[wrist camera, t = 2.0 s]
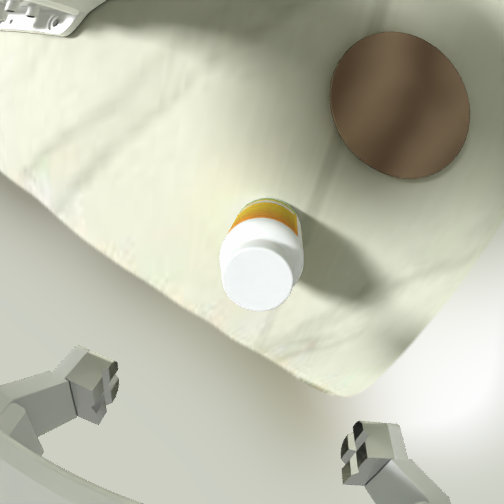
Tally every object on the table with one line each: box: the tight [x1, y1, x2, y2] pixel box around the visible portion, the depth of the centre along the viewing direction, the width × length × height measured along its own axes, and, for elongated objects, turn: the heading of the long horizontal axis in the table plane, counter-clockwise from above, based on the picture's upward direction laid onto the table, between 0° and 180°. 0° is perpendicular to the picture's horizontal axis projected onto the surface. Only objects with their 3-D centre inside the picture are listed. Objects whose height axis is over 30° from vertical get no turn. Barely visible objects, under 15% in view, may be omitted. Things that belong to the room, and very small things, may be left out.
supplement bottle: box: [220, 198, 304, 311], centre depth 22 cm, size 5×5×10 cm
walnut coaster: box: [330, 32, 470, 179], centre depth 21 cm, size 12×12×1 cm
